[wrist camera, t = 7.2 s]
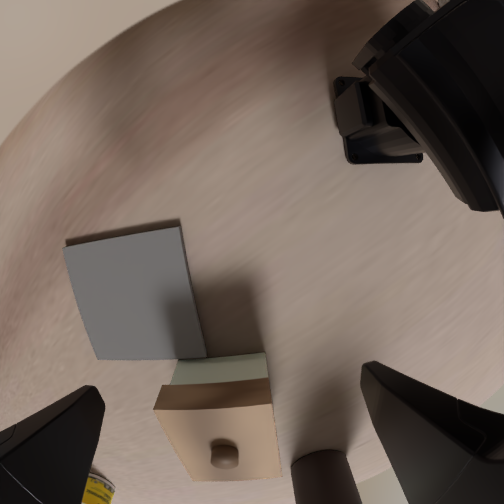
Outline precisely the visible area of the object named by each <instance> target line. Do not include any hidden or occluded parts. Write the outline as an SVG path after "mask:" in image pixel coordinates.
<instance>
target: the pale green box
mask: <svg viewBox="0 0 504 504" xmlns="http://www.w3.org/2000/svg"><path fill="white" fill-rule="evenodd" d="M266 377H268V370H267V363H266V355H265V352H263V353H255V354H246V355H237V356H227V357H216V358H204V359H189V360H178V363H177V366H176V369H175V371H174V374H173V377H172V380H171V383H170V385H183V384H204V383H219V382H231V381H241V380H250V379H259V378H266Z"/></svg>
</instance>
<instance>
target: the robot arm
mask: <svg viewBox="0 0 504 504" xmlns="http://www.w3.org/2000/svg"><path fill="white" fill-rule="evenodd" d="M352 64H353V65H354V66H355V67H356V68H357V69H358V70H360V69H361V70H362V71H363V72H364V73H365V74H366V76H365V77H364V78H356V77H337V78H336V79H335V80H334V89H335V93H336V98H337V99H336V100H335V101H334V105H335V110H336V116H337V121H338V127H339V133H340V135H341V136H342V137H343V138H344V145H345V152H346V158H347V161H348V162H349V163H350V164H353V165H356V164H384V163H421V162H422V160H423V152H426V153H427V155H428V156H429V157H430V159H431V160H432V161H433V163H434V164H435V166H436V167H437V169H438V170H439V172H440V173H441V175H442V176H443V178H444V179H445V181H446V182H447V184H448V185H449V187H450V189H451V190H452V192H453V193H454V195H455V197H457V198H458V199H459V200H461V201H462V202H464V203H465V204H468V206H469V208H470V209H471V210H474V211H481V212H490V211H499V210H500V212H501V214H502V217H503V219H504V0H449V1H448V2H446V3H445V4H444V5H442V6H441V7H440V8H439V9H437V10H436V11H435V12H434V11H433V10H432V9H430V7H429V6H428V5H427V4H426V3H425V2H424V1H422V0H415V1H414V2H412V3H411V4H410V5H408V6H407V7H406V8H404V9H403V10H402V11H400V12H399V13H398V14H397V15H396V16H394V17H393V18H392V19H391V20H390V21H389V22H388V23H386V24H385V25H384V26H383V27H382V28H381V29H380V30H379V31H378V32H377V33H376V34H375V35H374V36H373V37H372V38H371V39H370V40H369V41H368V42H367V43H366V45H365V46H364V47H363V49H362V50H361V51H360V53H359V54H358V55H357V57H356V58H355V60H354V61H353V62H352ZM339 81H340V82H342V83H343V86H341V85H340V84H339V83H338V82H339ZM352 154H354V155H355V156H356V160H353V159H352ZM416 154H417V155H418V159H417V158H416ZM360 385H361V390H362V393H363V396H364V399H365V402H366V405H367V408H368V411H369V414H370V417H371V420H372V423H373V426H374V428H375V431H376V433H377V435H378V437H379V439H380V441H381V443H382V445H383V448H384V450H385V452H386V454H387V456H388V458H389V460H390V463H391V465H392V467H393V469H394V471H395V474H396V476H397V478H398V480H399V483H400V485H401V487H402V489H403V492H404V494H405V496H406V498H407V501H408V503H409V504H504V414H501V413H497V412H493V411H490V410H487V409H483V408H480V407H478V406H475V405H473V404H470V403H468V402H465V401H463V400H460V399H458V400H457V398H456V397H453V396H451V395H449V394H446V393H444V392H442V391H440V390H437V389H435V388H433V387H431V386H428V385H426V384H424V383H422V382H420V381H417V380H415V379H413V378H411V377H409V376H407V375H404V374H402V373H400V372H398V371H396V370H394V369H392V368H390V367H388V366H385V365H383V364H381V363H379V362H377V361H370V362H366V363H364V364H363V365H362V371H361V381H360ZM104 412H105V403H104V401H103V399H102V397H101V395H100V393H99V391H98V389H97V388H96V387H95V386H91V385H85V386H83V387H81V388H79V389H77V390H76V391H74V392H72V393H70V394H69V395H67V396H65V397H63V398H62V399H60V400H58V401H56V402H55V403H53V404H51V405H49V406H47V407H46V408H44V409H42V410H40V411H38V412H37V413H35V414H33V415H31V416H29V417H27V418H26V419H24V420H22V421H20V422H18V423H17V424H14V425H12V426H11V427H9V428H7V429H5V430H3V431H1V432H0V504H81V503H82V499H83V495H84V491H85V487H86V483H87V479H88V476H89V472H90V469H91V465H92V462H93V458H94V455H95V451H96V448H97V445H98V441H99V436H100V431H101V426H102V422H103V417H104Z"/></svg>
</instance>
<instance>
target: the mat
mask: <svg viewBox="0 0 504 504" xmlns="http://www.w3.org/2000/svg"><path fill="white" fill-rule="evenodd" d="M62 249H63V253H64V258H65V262H66V266H67V270H68V274H69V278H70V281H71V285H72V289H73V292H74V295H75V299H76V302H77V305H78V308H79V311H80V314H81V317H82V320H83V323H84V326H85V329H86V331H87V334H88V337H89V339H90V342H91V345H92V347H93V350H94V352H95V355H96V357H97V359H98V360H167V359H187V358H203V357H206V356H207V351H206V347H205V343H204V338H203V334H202V330H201V326H200V321H199V317H198V312H197V308H196V303H195V299H194V294H193V289H192V284H191V279H190V274H189V269H188V264H187V258H186V253H185V247H184V242H183V236H182V230H181V226H176V227H170V228H164V229H158V230H152V231H146V232H140V233H135V234H129V235H123V236H118V237H112V238H107V239H102V240H96V241H91V242H86V243H81V244H76V245H71V246H66V247H64V248H62Z"/></svg>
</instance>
